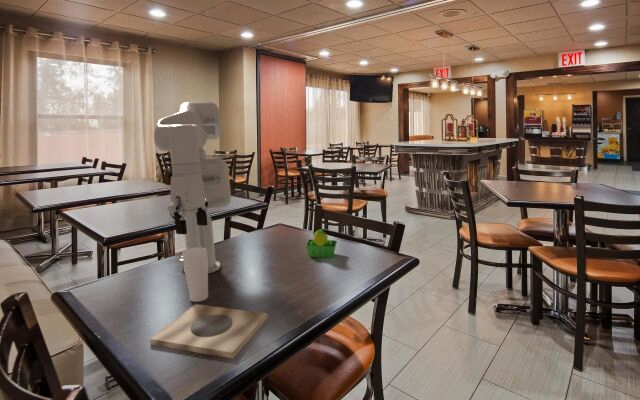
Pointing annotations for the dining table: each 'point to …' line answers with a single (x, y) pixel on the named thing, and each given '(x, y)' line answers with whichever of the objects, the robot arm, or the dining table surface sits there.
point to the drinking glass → (196, 273)
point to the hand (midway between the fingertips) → (192, 229)
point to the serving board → (210, 330)
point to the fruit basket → (321, 245)
